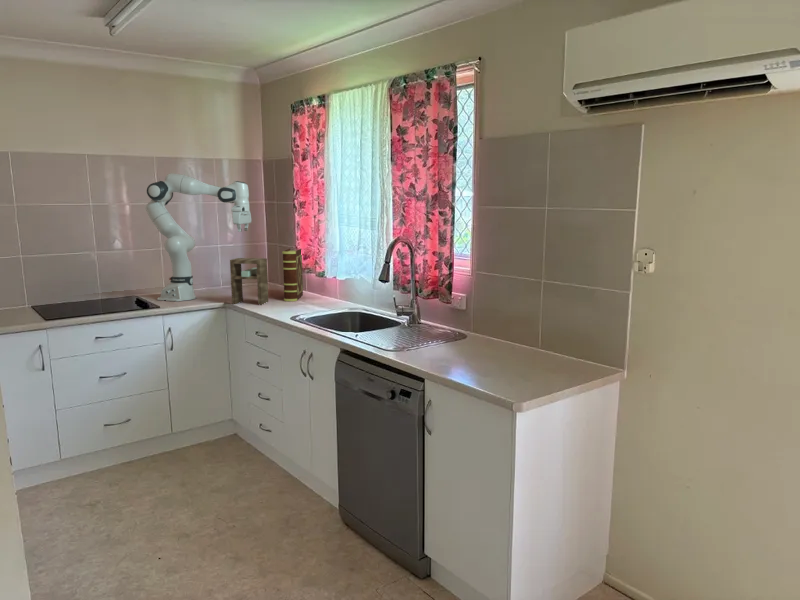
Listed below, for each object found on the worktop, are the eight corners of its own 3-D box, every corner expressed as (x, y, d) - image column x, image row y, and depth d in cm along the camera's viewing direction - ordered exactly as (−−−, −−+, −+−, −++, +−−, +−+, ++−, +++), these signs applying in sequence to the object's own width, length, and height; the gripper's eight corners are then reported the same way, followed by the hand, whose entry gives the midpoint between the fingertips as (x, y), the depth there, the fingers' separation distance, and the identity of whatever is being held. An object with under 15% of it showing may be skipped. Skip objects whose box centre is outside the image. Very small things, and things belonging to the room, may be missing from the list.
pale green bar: (241, 276, 341) (241, 271, 340) (254, 272, 359) (253, 267, 359) (248, 276, 340) (247, 271, 340) (260, 272, 359) (260, 267, 358)
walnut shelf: (232, 304, 345) (229, 259, 341) (239, 301, 356) (237, 258, 352) (261, 305, 343) (259, 260, 338) (268, 301, 354) (266, 258, 349)
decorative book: (296, 301, 355) (294, 251, 349) (283, 301, 355) (281, 251, 350) (303, 295, 377) (301, 248, 372) (290, 295, 377) (289, 248, 372)
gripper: (243, 208, 369) (244, 230, 371) (230, 208, 349) (231, 232, 351) (253, 208, 368) (254, 230, 371) (240, 208, 348) (241, 232, 351)
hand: (243, 231), depth 361 cm, fingers open, 8 cm apart
